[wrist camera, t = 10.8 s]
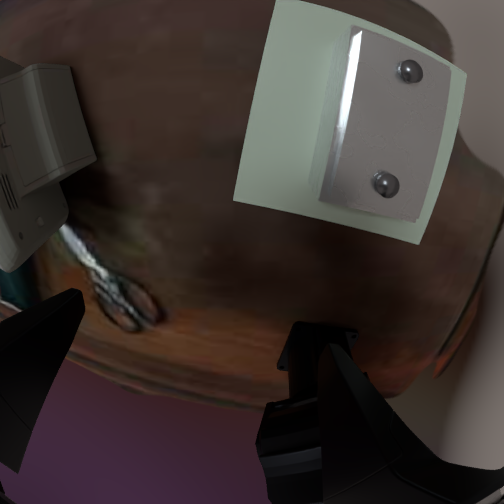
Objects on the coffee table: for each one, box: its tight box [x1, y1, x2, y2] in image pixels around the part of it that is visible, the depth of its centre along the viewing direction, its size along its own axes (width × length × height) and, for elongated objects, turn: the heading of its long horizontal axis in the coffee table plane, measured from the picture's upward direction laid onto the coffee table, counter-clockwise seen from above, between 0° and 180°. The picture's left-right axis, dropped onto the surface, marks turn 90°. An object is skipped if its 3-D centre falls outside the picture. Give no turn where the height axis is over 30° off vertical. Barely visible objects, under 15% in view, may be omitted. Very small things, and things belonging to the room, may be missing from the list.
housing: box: [308, 24, 452, 223], centre depth 11 cm, size 5×8×4 cm, turn 171°
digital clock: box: [0, 56, 97, 273], centre depth 12 cm, size 16×9×11 cm, turn 5°
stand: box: [233, 0, 467, 245], centre depth 14 cm, size 12×12×4 cm
